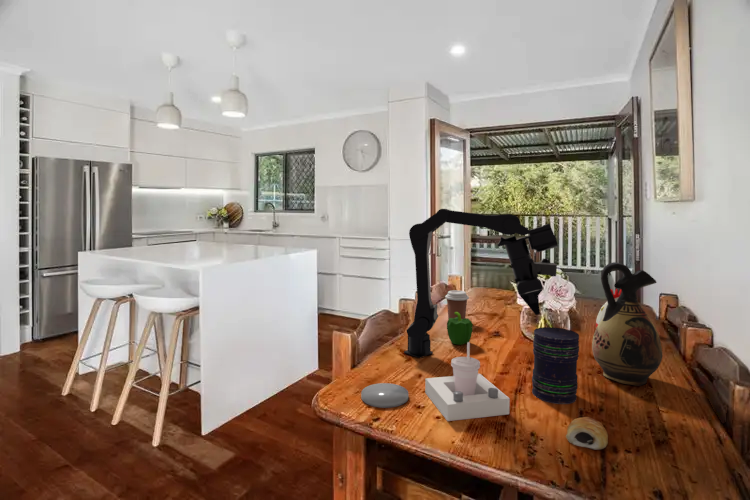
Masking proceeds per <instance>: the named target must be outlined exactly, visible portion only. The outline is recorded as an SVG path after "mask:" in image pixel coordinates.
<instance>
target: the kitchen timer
mask: <svg viewBox="0 0 750 500" xmlns="http://www.w3.org/2000/svg"><path fill="white" fill-rule="evenodd" d="M610 289H611V292H612V294H613V296H614V299H615V301H617V299H618V298H619V296H620V294H621V292H622V290H621V289H619V288H615V291H613V289H612V288H610ZM618 289H619V290H618ZM607 305H608V301H607V300H606V302H605V303H604V304H603V305H602V306H601V308H600V310H599V312H598V314H597V316H596V321H595V327H596V328H597V326H598V324H599V322H600V321H601V320H602V319H603V317H604V315H605V311H606V307H607Z"/></svg>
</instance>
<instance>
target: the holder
mask: <svg viewBox="0 0 750 500" xmlns="http://www.w3.org/2000/svg"><path fill="white" fill-rule="evenodd" d="M424 380H425V381H424V382H425V386H424V387H425V388H424V389H425V390H424V393H425V394H426V396H427V398H429V399H430V401H432V404H433V405H434V406H435V407H436V409H437V410H438V412H440V414H441V415H442V416H443V417H444V419H445V420H446V422H451V421H452V422H453V421H461V420H469V419H471V420H472V419H478V418H479V419H480V418H487V417H496V416H505V415H510V399H511V398H510V397H509V396H507V395H506V394H505V393H504V392H502V390H500V389H499V388H498V387H497V386H495V385H494V384H493V383H492V382H490V380H488V379H487V378H486V377H484V376H483V374H481V373H478V376H477V382H476V389H475V395H468V396H463V392H460V391H455V383H454V375H451V376H439V377H437V376H436V377H427V378H426V377H425V379H424Z"/></svg>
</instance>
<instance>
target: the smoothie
mask: <svg viewBox="0 0 750 500" xmlns="http://www.w3.org/2000/svg"><path fill="white" fill-rule="evenodd" d="M470 349H471V342H470V341H469V342H467V343H466V356H456V357H453V358H452V359H451V362H450V365H451V367H452V374H453V376H454V383H455V391H460V392H463V396H468V395H475V389H476V382H477V376H478V374H479V369H480V368H481V362H480V360H479V359H477V358H474V357H472V356H471V355H470V353H471V352H470V351H471V350H470ZM470 356H471V357H470Z"/></svg>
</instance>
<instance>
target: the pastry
mask: <svg viewBox="0 0 750 500" xmlns="http://www.w3.org/2000/svg"><path fill="white" fill-rule="evenodd" d="M566 429H567V431H566V435H565V438H566V440H567V441H568V443H570V444H572V445H574V446H577V447H580V448H587V449H591V450H599V451H601V450H604V449H605V448H606V447H607V446H608V443H609V442H608V441H609V440H608V438H609V434H608V431H607V430H606V428H605V427H604V425H603V423H601V421H599V420H597V419H594V418H592V417H590V416H583V417H578V418H574V419H572V420H571V422H570V424H568V426H567V428H566Z"/></svg>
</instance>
